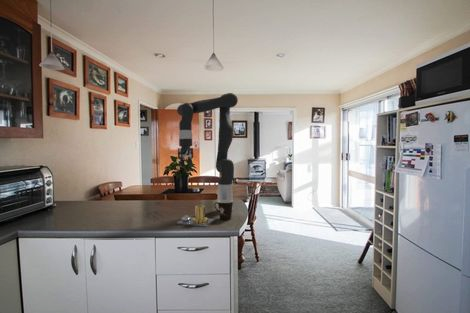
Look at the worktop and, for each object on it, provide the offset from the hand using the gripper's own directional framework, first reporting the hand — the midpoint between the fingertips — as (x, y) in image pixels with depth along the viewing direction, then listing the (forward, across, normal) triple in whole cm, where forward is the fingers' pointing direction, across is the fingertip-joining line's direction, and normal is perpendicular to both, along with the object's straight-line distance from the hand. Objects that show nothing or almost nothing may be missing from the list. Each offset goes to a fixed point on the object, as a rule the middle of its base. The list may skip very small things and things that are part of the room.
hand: (186, 165), depth 162 cm
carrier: (+30, +9, +10) cm, 33 cm away
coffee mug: (+30, -4, +22) cm, 38 cm away
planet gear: (+29, +9, +13) cm, 33 cm away
